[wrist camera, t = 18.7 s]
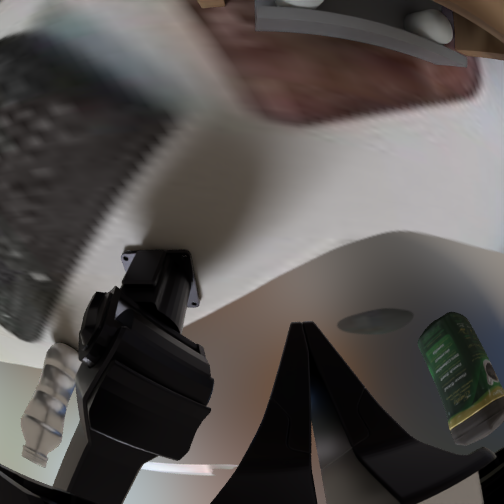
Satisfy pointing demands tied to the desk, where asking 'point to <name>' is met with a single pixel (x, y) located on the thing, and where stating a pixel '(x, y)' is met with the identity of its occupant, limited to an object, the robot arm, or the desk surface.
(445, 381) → the coffee jar
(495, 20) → the tan rectangular block
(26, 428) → the plastic bottle
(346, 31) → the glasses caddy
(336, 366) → the robot arm
